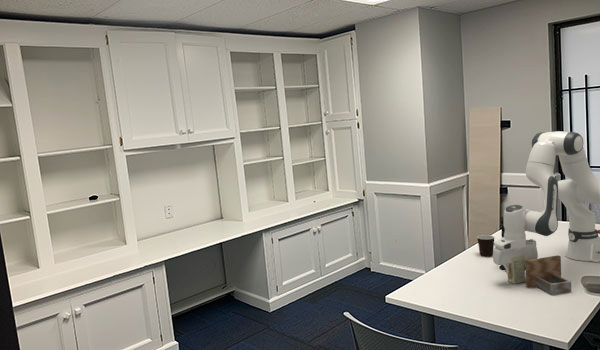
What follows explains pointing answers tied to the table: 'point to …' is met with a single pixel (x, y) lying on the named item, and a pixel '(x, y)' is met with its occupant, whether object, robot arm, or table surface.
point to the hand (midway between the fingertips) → (516, 271)
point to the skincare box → (517, 270)
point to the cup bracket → (546, 275)
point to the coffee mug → (486, 245)
